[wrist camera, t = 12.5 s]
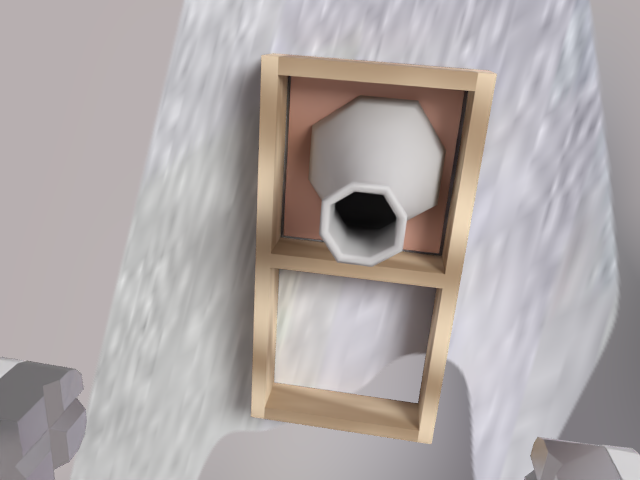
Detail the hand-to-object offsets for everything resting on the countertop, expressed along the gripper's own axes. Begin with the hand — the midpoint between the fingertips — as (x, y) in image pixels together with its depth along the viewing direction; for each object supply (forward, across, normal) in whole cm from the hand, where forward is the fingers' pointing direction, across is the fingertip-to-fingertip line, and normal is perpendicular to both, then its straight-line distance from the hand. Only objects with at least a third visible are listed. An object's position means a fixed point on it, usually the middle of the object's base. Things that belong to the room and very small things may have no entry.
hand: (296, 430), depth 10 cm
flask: (+21, 0, 0) cm, 21 cm away
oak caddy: (+21, 0, -5) cm, 21 cm away
